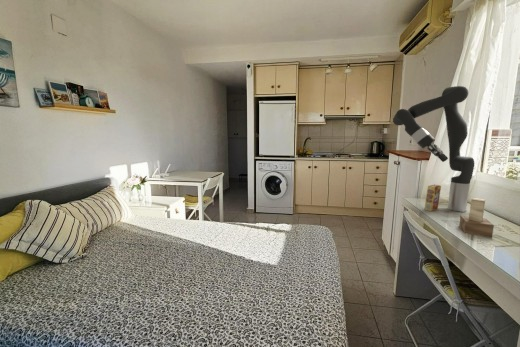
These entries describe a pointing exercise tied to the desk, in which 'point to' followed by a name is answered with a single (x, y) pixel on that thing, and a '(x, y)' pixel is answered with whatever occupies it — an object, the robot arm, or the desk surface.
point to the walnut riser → (476, 226)
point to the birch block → (476, 209)
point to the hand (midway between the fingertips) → (445, 160)
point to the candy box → (432, 197)
